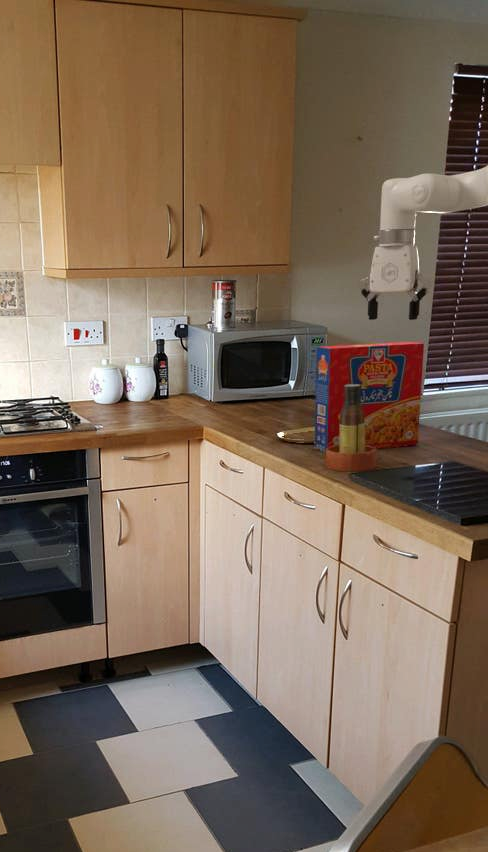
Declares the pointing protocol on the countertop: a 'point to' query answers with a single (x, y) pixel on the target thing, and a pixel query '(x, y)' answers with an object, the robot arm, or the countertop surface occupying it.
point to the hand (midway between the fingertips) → (392, 319)
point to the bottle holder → (350, 459)
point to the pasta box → (370, 391)
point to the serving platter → (296, 432)
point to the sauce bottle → (352, 421)
